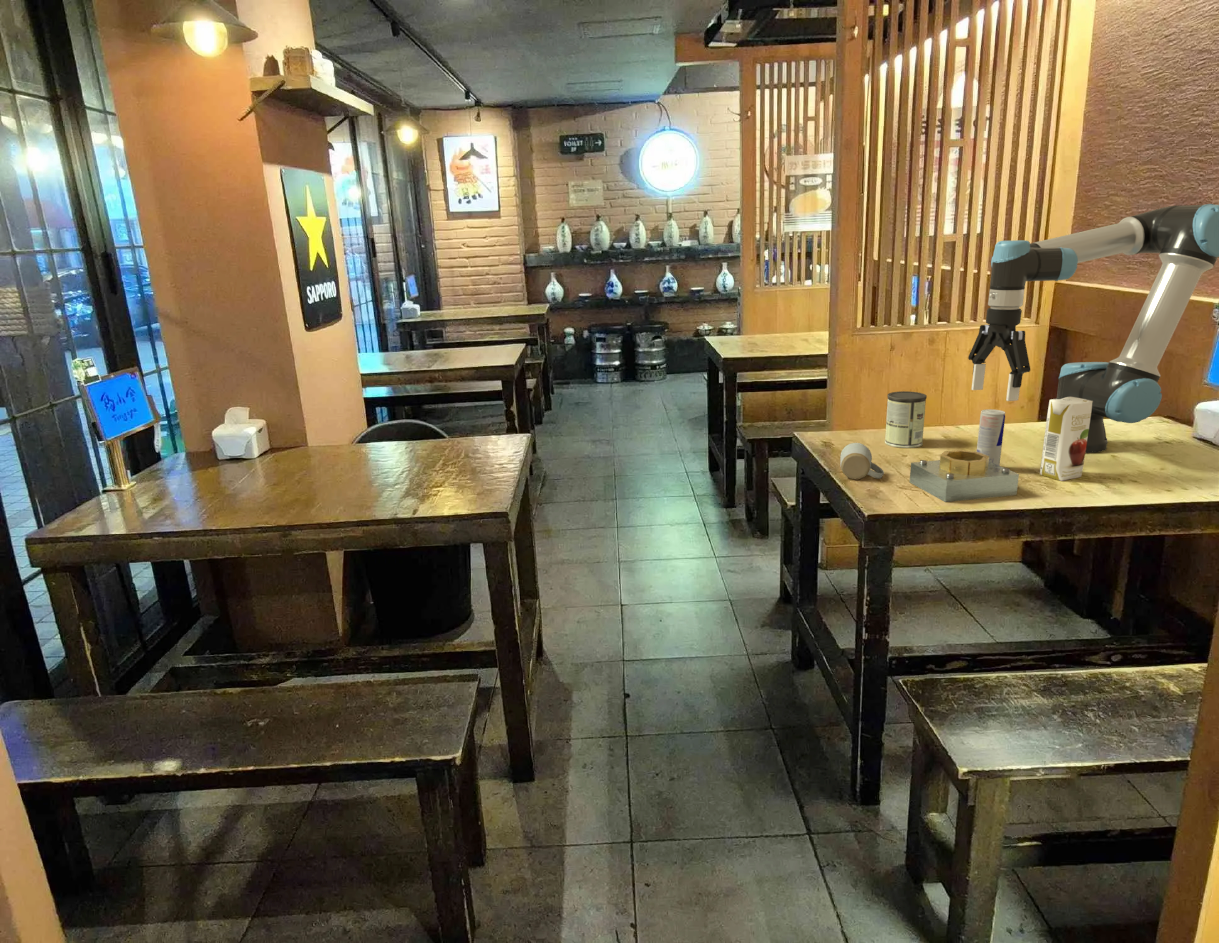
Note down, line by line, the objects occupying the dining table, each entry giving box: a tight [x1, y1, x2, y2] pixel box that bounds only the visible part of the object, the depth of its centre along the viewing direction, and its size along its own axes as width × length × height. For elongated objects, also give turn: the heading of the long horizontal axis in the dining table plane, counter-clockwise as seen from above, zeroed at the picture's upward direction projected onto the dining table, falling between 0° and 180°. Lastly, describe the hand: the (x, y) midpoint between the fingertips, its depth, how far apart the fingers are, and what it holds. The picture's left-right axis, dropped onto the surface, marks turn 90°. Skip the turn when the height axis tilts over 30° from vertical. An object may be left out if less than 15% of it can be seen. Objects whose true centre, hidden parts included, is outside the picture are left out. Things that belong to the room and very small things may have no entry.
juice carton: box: [1039, 396, 1093, 481], centre depth 195 cm, size 8×9×19 cm
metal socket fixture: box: [909, 449, 1020, 503], centre depth 190 cm, size 18×15×8 cm
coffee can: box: [884, 390, 928, 449], centre depth 228 cm, size 10×10×14 cm
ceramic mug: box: [839, 442, 885, 480], centre depth 201 cm, size 11×8×8 cm
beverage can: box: [976, 408, 1006, 466], centre depth 203 cm, size 6×6×15 cm
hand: (994, 395), depth 199 cm, fingers open, 13 cm apart
